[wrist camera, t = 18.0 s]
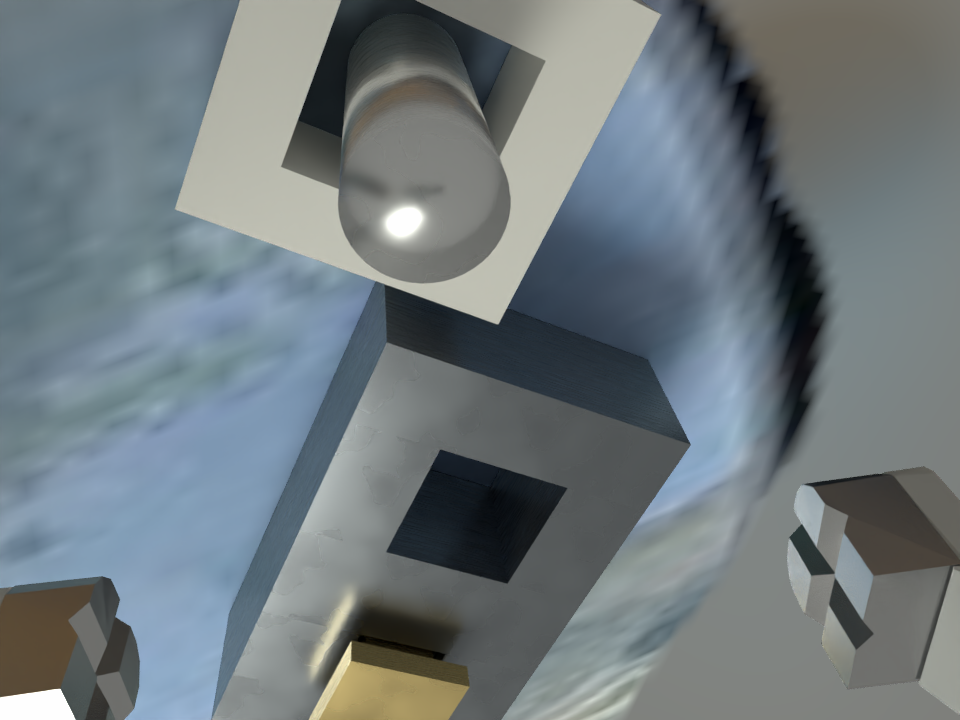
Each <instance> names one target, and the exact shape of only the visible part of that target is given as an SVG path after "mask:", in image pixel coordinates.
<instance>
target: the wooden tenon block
mask: <svg viewBox="0 0 960 720" xmlns="http://www.w3.org/2000/svg"><path fill="white" fill-rule="evenodd" d="M469 687H470V686H469V677H468V669H467V666H463V665H458V664H454V663H449V662H445V661H440V660H436V659H434V658H433V651H431V650H427V649H422V648H418V647H414V646H409V645H405V644H400V643H396V642H392V641H387V640H383V639H378V638H374V637H370V636H365V635H361V634H360V636H359V638H358V640H357V642H356V641H352V640H351V642H350V644H349V646H348V648H347V650H346V651H345V653H344V655H343V657H342V659H341V661H340V663H339V664H338V666H337V668H336V670H335V672H334V674H333V676H332V677H331V679H330V681H329V683H328V685H327V687H326V688H325V690H324V692H323V694H322V696H321V698H320V700H319V701H318V703H317V705H316V707H315V709H314V711H313V713H312V714H311V716H310V718H309V720H448V719H449V718H450V716H451V715H452V713H453V712H454V710H455V709H456V707H457V706H458V704H459V703H460V701H461V699H462V698H463V696H464V695H465V693H466V692H467V690H468V689H469Z"/></svg>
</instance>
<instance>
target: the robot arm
mask: <svg viewBox="0 0 960 720" xmlns="http://www.w3.org/2000/svg"><path fill="white" fill-rule="evenodd" d="M794 511H795V513H796V515H797V516H798V518H799V519H800V521H801V523H802V525H801V526H800V527H799V528H798V529H797V530H796V531H795V532H794V533H793V534H792V535H791V536H790V537H789V544H788V553H787V563H788V570H789V577H790V582H791V585H792V588H793V591H794V593H795V596H796V599H797V600H798V602H799V604H800V606H801V608H802V610H803V611H804V613H805V614H806V615H807V616H809V617H810V618H812V619H814V620H815V621H817V622H819V623H820V624H822V625H823V626H824V632H823V637H822V642H821V644H822V646H823V647H824V649H825V651H826V653H827V655H828V656H829V658H830V660H831V662H832V663H833V665H834V667H835V669H836V670H837V672H838V674H839V676H840V677H841V679H842V681H843V683H844V685H845V686H846V688H847V689H855V688H864V687H872V686H881V685H889V684H897V683H905V682H914V681H920V682H919V685H920V686H921V687H923V688H924V689H925V690H927V691H928V692H929V693H931V694H932V695H933V696H935V697H936V698H937V699H939V700H940V701H941V702H943V703H944V704H945V705H947V706H948V707H949V708H951V709H952V710H953V711H955V712H956V713H957V714H959V715H960V500H959V499H958V498H957V497H956V496H955V494H954V493H953V492H952V491H951V490H950V489H949V488H948V487H947V485H946V484H945V483H944V482H943V481H942V480H941V479H940V477H939V476H938V475H937V474H936V473H935V472H934V471H932V470H930V469H928V468H926V467H924V466H923V467H916V468H910V469H903V470H896V471H890V472H884V473H882V474H872V475H864V476H857V477H850V478H843V479H836V480H829V481H822V482H815V483H807V484H802V486H801V487H800V489H799V490H798V492H797V494H796V499H795V505H794ZM119 601H120V599H119V596H118V594H117V592H116V590H115V587H114V585H113V583H112V581H111V579H109V578H106V577H103V576H101V577H92V578H82V579H73V580H64V581H55V582H45V583H36V584H27V585H18V586H14V587H10V588H0V720H124V719H125V718H126V717H127V716H128V715H129V714H130V713H131V712H132V710H133V709H134V707H135V702H136V698H137V693H138V689H139V666H140V660H139V654H138V649H137V643H136V640H135V637H134V634H133V632H132V629H131V627H130V626H129V625H127V624H125V623H124V622H122V621H121V620H119V619H117V618H116V617H115V615H116V612H117V608H118V605H119Z"/></svg>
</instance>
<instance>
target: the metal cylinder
mask: <svg viewBox="0 0 960 720" xmlns="http://www.w3.org/2000/svg"><path fill="white" fill-rule="evenodd" d="M510 208H511V196H510V187H509V183H508V179H507V176H506V173H505V171H504V168H503V165H502V163H501V160H500V157H499V155H498V152H497V149H496V147H495V144H494V142H493V139H492V136H491V134H490V131H489V128H488V126H487V123H486V120H485V118H484V115H483V112H482V110H481V107H480V105H479V102H478V99H477V97H476V94H475V91H474V89H473V86H472V83H471V81H470V78H469V76H468V73H467V70H466V68H465V65H464V62H463V60H462V57H461V54H460V52H459V50H458V47H457V45H456V44H455V42H454V40H453V39H452V37H451V36H450V35H449V34H448V33H447V32H446V31H445V30H444V28H442V27H441V26H440V25H438V24H437V23H435V22H434V21H432V20H430V19H428V18H426V17H423V16H420V15H416V14H408V13H402V14H393V15H389V16H386V17H383V18H381V19H379V20H377V21H375V22H374V23H372V24H370V25H369V26H368V27H367V28H366V29H365V30H364V31H363V32H362V33H361V34H360V35H359V37H358V38H357V40H356V41H355V43H354V45H353V47H352V49H351V52H350V55H349V59H348V64H347V78H346V92H345V107H344V121H343V135H342V150H341V164H340V178H339V193H338V212H339V218H340V222H341V226H342V229H343V231H344V234H345V236H346V238H347V240H348V242H349V244H350V245H351V247H352V248H353V249H354V251H355V252H356V253H357V254H358V255H359V256H360V257H361V258H362V260H363V261H365V262H366V263H367V264H368V265H370V266H371V267H372V268H374V269H375V270H377V271H379V272H380V273H382V274H384V275H386V276H389V277H391V278H394V279H397V280H400V281H405V282H410V283H422V284H423V283H436V282H442V281H446V280H450V279H453V278H456V277H458V276H461V275H463V274H465V273H467V272H468V271H470V270H472V269H474V268H475V267H476V266H478V265H479V264H480V263H482V262H483V261H484V260H485V259H486V258H487V257H488V256H489V255H490V254H491V252H492V251H493V250H494V249H495V248H496V246H497V244H498V243H499V241H500V240H501V238H502V236H503V234H504V231H505V229H506V226H507V223H508V220H509V214H510Z"/></svg>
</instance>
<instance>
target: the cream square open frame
mask: <svg viewBox="0 0 960 720" xmlns="http://www.w3.org/2000/svg"><path fill="white" fill-rule="evenodd" d="M416 1H418V2H420V3H422V4H425V5H427V6H429V7H431V8H433V9H435V10H437V11H440V12H442V13H444V14H446V15H448V16H450V17H453V18H455V19H457V20H459V21H461V22H463V23H465V24H468V25H470V26H472V27H474V28H476V29H478V30H481V31H483V32H485V33H487V34H489V35H491V36H493V37H496V38H498V39H500V40H502V41H504V42H506V43H509V44H511V45H512V46H511V48H510V50H509V53H508V55H507V57H506V59H505V61H504V63H503V66H502V68H501V70H500V72H499V74H498V77H497V79H496V81H495V83H494V85H493V88H492V90H491V92H490V94H489V96H488V98H487V101H486V103H485V105H484V107H483V109H482V112H483V115H484V118H485V120H486V123H487V126H488V128H489V131H490V134H491V136H492V139H493V142H494V144H495V147H496V149H497V152H498V155H499V157H500V160H501V163H502V165H503V168H504V171H505V173H506V176H507V179H508V183H509V187H510V196H511V208H510V214H509V220H508V223H507V226H506V229H505V231H504V234H503V236H502V238H501V240H500V241H499V243H498V244H497V246H496V248H495V249H494V250H493V251H492V252H491V254H490V255H489V256H488V257H487V258H486V259H485V260H484V261H483V262H482V263H480V264H479V265H478V266H476V267H475V268H474V269H472V270H470V271H468V272H467V273H465V274H463V275H461V276H458V277H456V278H453V279H450V280H446V281H442V282H436V283H423V284H422V283H410V282H405V281H400V280H397V279H394V278H391V277H389V276H386V275H384V274H382V273H380V272H379V271H377V270H375V269H374V268H372V267H371V266H370V265H368V264H367V263H366V262H365V261H363V260H362V258H361V257H360V256H359V255H358V254H357V253H356V252H355V251H354V249H353V248H352V247H351V245H350V244H349V242H348V240H347V238H346V236H345V234H344V231H343V229H342V226H341V222H340V218H339V212H338V193H339V178H340V164H341V150H342V138H340V137H338V136H335V135H333V134H330V133H328V132H326V131H323V130H321V129H318V128H316V127H313V126H311V125H308V124H306V123H303V122H301V121H298V118H299V115H300V113H301V110H302V107H303V104H304V102H305V99H306V96H307V93H308V91H309V88H310V85H311V82H312V80H313V77H314V74H315V71H316V68H317V66H318V63H319V60H320V57H321V55H322V52H323V49H324V46H325V44H326V41H327V38H328V35H329V33H330V30H331V27H332V24H333V22H334V19H335V16H336V13H337V11H338V8H339V5H340V2H341V0H240V2H239V5H238V9H237V12H236V15H235V18H234V22H233V25H232V28H231V31H230V34H229V38H228V41H227V44H226V47H225V50H224V54H223V57H222V60H221V63H220V66H219V70H218V73H217V76H216V79H215V82H214V86H213V89H212V92H211V95H210V99H209V102H208V105H207V108H206V111H205V115H204V118H203V121H202V124H201V127H200V131H199V134H198V137H197V140H196V143H195V147H194V150H193V153H192V156H191V159H190V163H189V166H188V169H187V172H186V175H185V179H184V182H183V185H182V188H181V192H180V195H179V198H178V201H177V204H176V208H175V210H178V211H181V212H184V213H187V214H189V215H192V216H195V217H198V218H201V219H203V220H206V221H209V222H212V223H215V224H217V225H220V226H223V227H226V228H229V229H231V230H234V231H237V232H240V233H243V234H245V235H248V236H251V237H254V238H257V239H259V240H262V241H265V242H268V243H271V244H273V245H276V246H279V247H282V248H285V249H287V250H290V251H293V252H296V253H299V254H301V255H304V256H307V257H310V258H313V259H315V260H318V261H321V262H324V263H327V264H330V265H332V266H335V267H338V268H341V269H344V270H346V271H349V272H352V273H355V274H358V275H360V276H363V277H366V278H369V279H372V280H374V281H377V282H380V283H383V284H386V285H388V286H391V287H394V288H397V289H400V290H402V291H405V292H408V293H411V294H414V295H416V296H419V297H422V298H425V299H428V300H430V301H433V302H436V303H439V304H442V305H444V306H447V307H450V308H453V309H456V310H458V311H461V312H464V313H467V314H470V315H472V316H475V317H478V318H481V319H484V320H487V321H489V322H492V323H495V324H499V322H500V320H501V318H502V316H503V315H504V313H505V311H506V309H507V307H508V305H509V303H510V301H511V299H512V297H513V295H514V294H515V292H516V290H517V288H518V286H519V284H520V282H521V280H522V278H523V276H524V275H525V273H526V271H527V269H528V267H529V265H530V263H531V261H532V259H533V257H534V256H535V254H536V252H537V250H538V248H539V246H540V244H541V242H542V240H543V238H544V237H545V235H546V233H547V231H548V229H549V227H550V225H551V223H552V221H553V219H554V218H555V216H556V214H557V212H558V210H559V208H560V206H561V204H562V202H563V200H564V198H565V197H566V195H567V193H568V191H569V189H570V187H571V185H572V183H573V181H574V179H575V178H576V176H577V174H578V172H579V170H580V168H581V166H582V164H583V162H584V160H585V159H586V157H587V155H588V153H589V151H590V149H591V147H592V145H593V143H594V141H595V140H596V138H597V136H598V134H599V132H600V130H601V128H602V126H603V124H604V122H605V121H606V119H607V117H608V115H609V113H610V111H611V109H612V107H613V105H614V103H615V101H616V100H617V98H618V96H619V94H620V92H621V90H622V88H623V86H624V84H625V82H626V81H627V79H628V77H629V75H630V73H631V71H632V69H633V67H634V65H635V63H636V62H637V60H638V58H639V56H640V54H641V52H642V50H643V48H644V46H645V44H646V43H647V41H648V39H649V37H650V35H651V33H652V31H653V29H654V27H655V25H656V24H657V22H658V20H659V18H660V16H661V14H660V13H658V12H657V11H655V10H654V9H652V8H651V7H650V6H648V5H647V4H645V3H644V2H643V1H641V0H416Z"/></svg>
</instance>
